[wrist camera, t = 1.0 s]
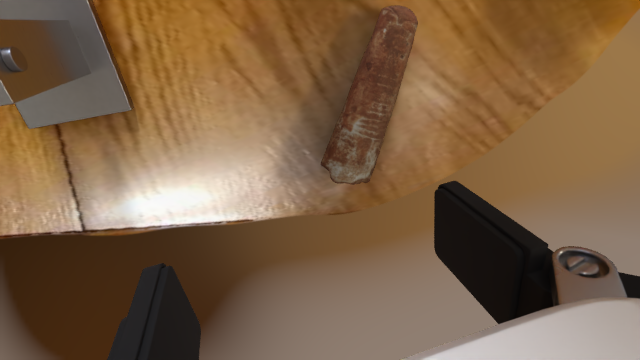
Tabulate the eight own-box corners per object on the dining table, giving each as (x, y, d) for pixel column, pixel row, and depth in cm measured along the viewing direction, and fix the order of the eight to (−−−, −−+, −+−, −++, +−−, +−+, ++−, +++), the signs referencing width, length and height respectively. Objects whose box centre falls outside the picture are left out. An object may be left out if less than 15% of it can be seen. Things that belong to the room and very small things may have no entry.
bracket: (-45, -21, 26) (-279, -57, 14) (78, -35, 27) (-37, -78, 15) (35, 125, 32) (-83, 190, 19) (134, 107, 33) (82, 157, 21)
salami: (313, 163, 40) (325, 182, 36) (374, -3, 34) (399, -7, 29) (357, 174, 43) (374, 194, 38) (423, 21, 37) (453, 21, 32)
